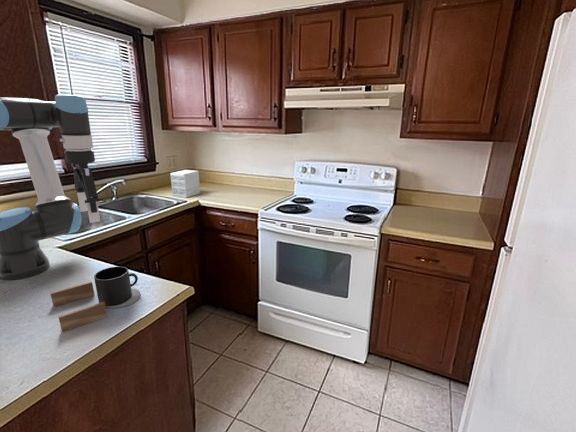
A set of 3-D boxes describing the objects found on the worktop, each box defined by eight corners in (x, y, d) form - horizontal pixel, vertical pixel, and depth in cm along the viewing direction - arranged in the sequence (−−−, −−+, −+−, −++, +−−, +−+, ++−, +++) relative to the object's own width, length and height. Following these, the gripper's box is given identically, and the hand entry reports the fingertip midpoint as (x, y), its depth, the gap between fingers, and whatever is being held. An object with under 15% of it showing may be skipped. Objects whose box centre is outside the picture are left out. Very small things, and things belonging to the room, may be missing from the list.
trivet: (98, 297, 102) (98, 296, 102) (134, 286, 109) (134, 284, 109) (107, 312, 94) (107, 310, 94) (145, 299, 101) (145, 297, 101)
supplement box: (186, 192, 252) (185, 169, 247) (200, 193, 247) (199, 170, 242) (171, 196, 236) (169, 172, 231) (186, 198, 232) (184, 173, 226)
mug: (144, 296, 102) (141, 270, 99) (103, 310, 94) (98, 283, 91) (134, 285, 108) (131, 261, 106) (95, 298, 100) (90, 272, 98)
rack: (53, 305, 97) (50, 292, 96) (93, 293, 104) (91, 281, 103) (62, 332, 85) (58, 318, 84) (107, 316, 92) (104, 302, 91)
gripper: (57, 145, 101) (68, 208, 108) (72, 155, 84) (85, 229, 90) (84, 145, 106) (93, 205, 113) (103, 153, 89) (113, 224, 95)
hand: (89, 216), depth 102 cm, fingers open, 13 cm apart
